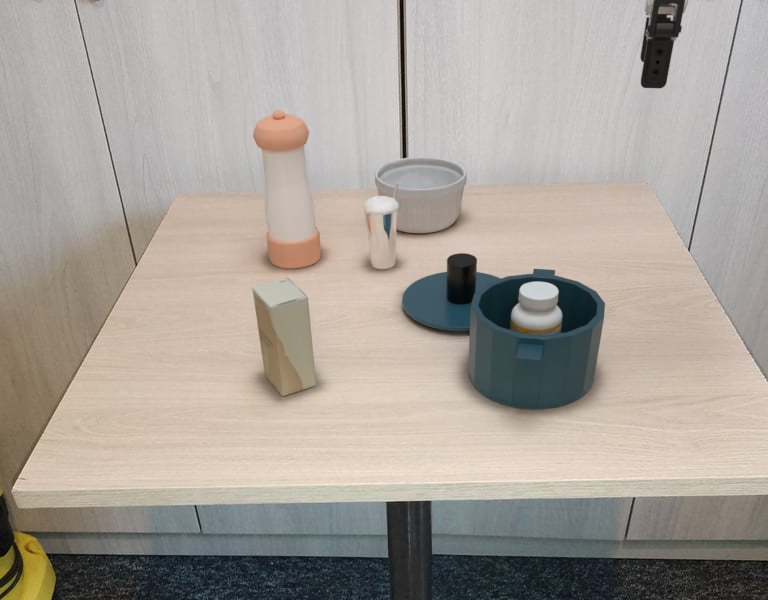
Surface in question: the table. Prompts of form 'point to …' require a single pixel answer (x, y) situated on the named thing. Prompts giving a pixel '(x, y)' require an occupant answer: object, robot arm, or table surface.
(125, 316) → the table surface
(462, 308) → the lid
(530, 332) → the supplement bottle
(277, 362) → the box
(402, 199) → the ramekin
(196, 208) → the table surface
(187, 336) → the table surface
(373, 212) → the milkshake
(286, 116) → the pepper shaker
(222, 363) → the table surface
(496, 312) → the pot
